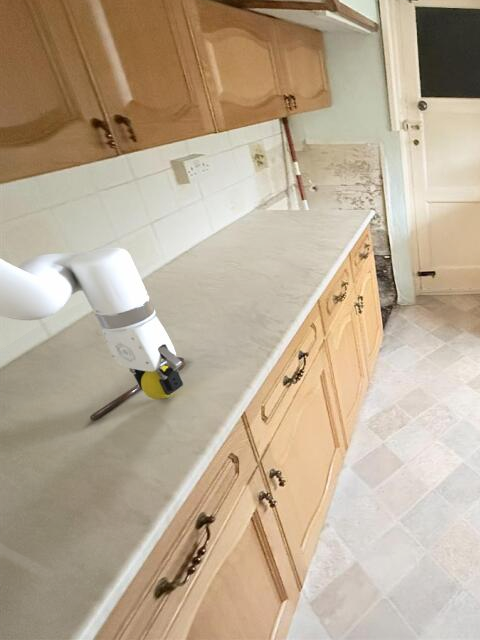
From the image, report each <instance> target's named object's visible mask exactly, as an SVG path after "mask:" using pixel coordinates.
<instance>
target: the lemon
mask: <svg viewBox="0 0 480 640" xmlns="http://www.w3.org/2000/svg"><path fill="white" fill-rule="evenodd" d="M161 368H162V370H163V371H165V370H166V369H167V368H168V367H167V366H162V367H161ZM160 379H161V378H160V376H159V375H158V374H157V373H156V371H153V372H148V371H146V372H145V373H144V375H143V376H142V379H141V386H142V389H141V390H142V391H143V393H144V395H146V396H147V397H148V398H150V399H153V400H163V399H168V398H170V397H171V396H172V395H173V394H174V393H175V392H176V391H174V392H173V393H172V394H170V395H166V394H165V392H164V390H163V388H162V386H161V384H160V382H159V380H160Z"/></svg>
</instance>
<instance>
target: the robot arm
mask: <svg viewBox="0 0 480 640" xmlns="http://www.w3.org/2000/svg"><path fill="white" fill-rule="evenodd" d="M77 292H83V294H84V296H85V298H86V299H87V302H88V303H89V305H90V307H91V309H92V312H93V313H94V314H95V317H96V319H97V320H98V322H99V325H100V328H101V332H102V335H103V338H104V341H105V343H106V346H107V348H108V349H109V352H110V354H111V356H112V359H113V360H114V363H115V364H116V365H118V366H121V367H124V368H129V372H130V373H131V374H133V376H134V379H135V380H136V382H137V385H138V384H139V386H140V388H141V390H143V389H142V386H141V379H142V376H143V375H144V373H145V372H146V371H148V372H153V371H156V373H157V374H158V375H159V376H160V378H161V379H160V380H159V382H160V384H161V386H162V388H163V390H164V392H165V394H166V395H170V394H172V393H173V392H174V391H175V392H176V391H177V390H179V389H180V388H181V387H183V386H184V381H183V380H182V378H181V376H180V374H179V371H180V370H179V367H180V366H181V365H182V362H181V361H180V360H179V359H178V358H177V357H178V356H177V352H176V350H175V347H174V345H173V343H172V340H171V338H170V337H169V335H168V333H167V331H166V330H165V327H164V326H163V324H162V323H161V321H160V320H159V319H158V317H157V316H156V310H155V308H154V305H153V302H152V301H151V298H150V296H149V294H148V292H147V289H146V287H145V285H144V283H143V280H142V278H141V275H140V273H139V271H138V269H137V267H136V265H135V262H134V260H133V258H132V256H131V254H130V252H129V251H127V249H125V248H122V247H119V246H118V247H117V246H109V247H101V248H95V249H91V250H88V251H82V252H81V251H80V252H57V253H45V254H43V253H42V254H38V255H35V256H32V257H30V258H28V259H26V260H25V261H23V262H22V263H21V264H19V266H18V267H17V266H15V265H14V264H11V263H9V262H7V261H5V260H4V259H2V258H0V317H3V318H6V319H11V320H18V321H39V320H42V319H45V318H48V317H50V316H53V315H55V314H56V313H58V312H59V311H60V310H62V308H63V307H64V306H65V305H66V303H67V302H68V301H69V300H70V298H71V297H72V295H74V294H76V293H77ZM165 364H167V365H168V366H169V367H168V368H167V369H166V370H165V371H163V370H162V368H161V367H162V366H164V365H165ZM178 370H179V371H178ZM175 392H174V393H175ZM174 393H173V394H174ZM173 394H172V395H173ZM170 396H171V395H170Z"/></svg>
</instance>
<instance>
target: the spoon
mask: <svg viewBox="0 0 480 640" xmlns="http://www.w3.org/2000/svg"><path fill="white" fill-rule="evenodd" d="M176 357H177V358H178V359H179V360H180V361H181V362H182V365H181V366H180V367H179V370H178V372H179V371H181V370H183V369H184V367H185V366H186V361H185V358H183V357H182V356H181V357H180V356H176ZM164 366H167V367H169V366H168V365H167V364H165V365H164ZM141 390H142V389H141V388H140V386H139V384H138V383H137V384H136V385H135V386H133V387H131V388H130V389H129V390H127V391H125V392H123V393H122V394H121V395H119V396H118V397H117V398H115V399H113V400H112V401H110V402H109V403H107V404H106V405H104V406H103V407H101V408H100V409H98V410H97V411H95V412H93V413H92V414H91V415H90V416H89V420H91V421H96V420H98V419H99V418H101V417H102V416H103V415H105V414H106V413H108V412H110V411H111V410H113V409H114V408H116V407H117V406H118V405H120V404H121V403H123V402H125V401H126V400H127V399H129V398H130V397H132V396H133V395H134V394H136V393H138V392H139V391H141Z"/></svg>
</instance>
